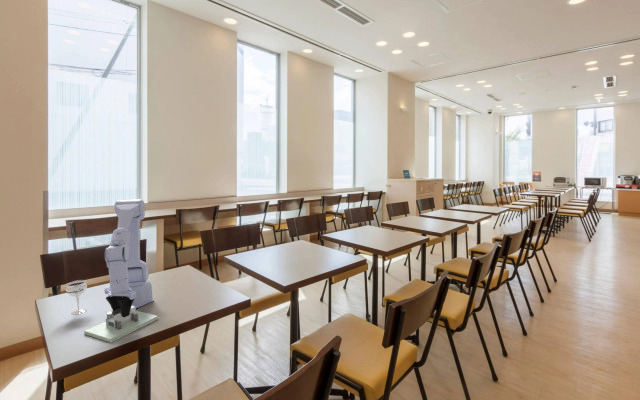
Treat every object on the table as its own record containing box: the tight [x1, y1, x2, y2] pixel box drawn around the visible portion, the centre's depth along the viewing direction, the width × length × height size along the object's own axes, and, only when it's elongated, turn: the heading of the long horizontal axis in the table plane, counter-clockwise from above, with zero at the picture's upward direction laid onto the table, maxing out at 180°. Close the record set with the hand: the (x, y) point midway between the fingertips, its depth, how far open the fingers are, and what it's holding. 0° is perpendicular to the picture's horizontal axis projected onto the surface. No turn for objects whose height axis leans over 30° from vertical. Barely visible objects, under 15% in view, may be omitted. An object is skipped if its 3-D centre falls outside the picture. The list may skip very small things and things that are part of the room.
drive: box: [106, 306, 137, 329], centre depth 118 cm, size 8×4×5 cm, turn 156°
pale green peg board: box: [83, 310, 159, 343], centre depth 119 cm, size 18×14×4 cm
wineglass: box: [65, 279, 88, 316], centre depth 131 cm, size 7×7×12 cm
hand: (121, 315), depth 118 cm, fingers closed on drive, 4 cm apart
